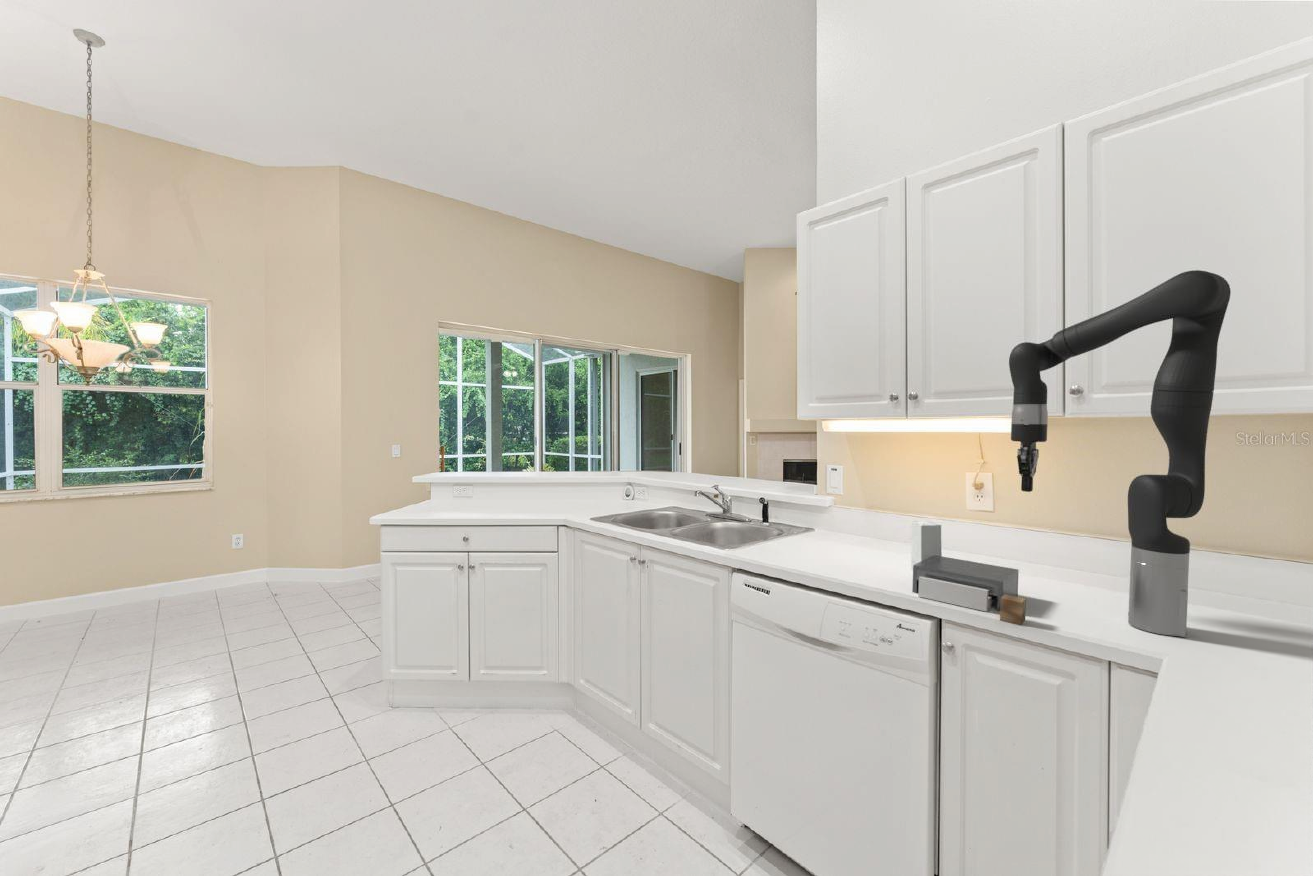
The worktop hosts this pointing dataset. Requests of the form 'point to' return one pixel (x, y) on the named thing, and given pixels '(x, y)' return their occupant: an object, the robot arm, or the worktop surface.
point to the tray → (955, 593)
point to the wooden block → (1012, 609)
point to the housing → (968, 575)
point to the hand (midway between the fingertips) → (1026, 491)
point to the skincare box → (924, 541)
